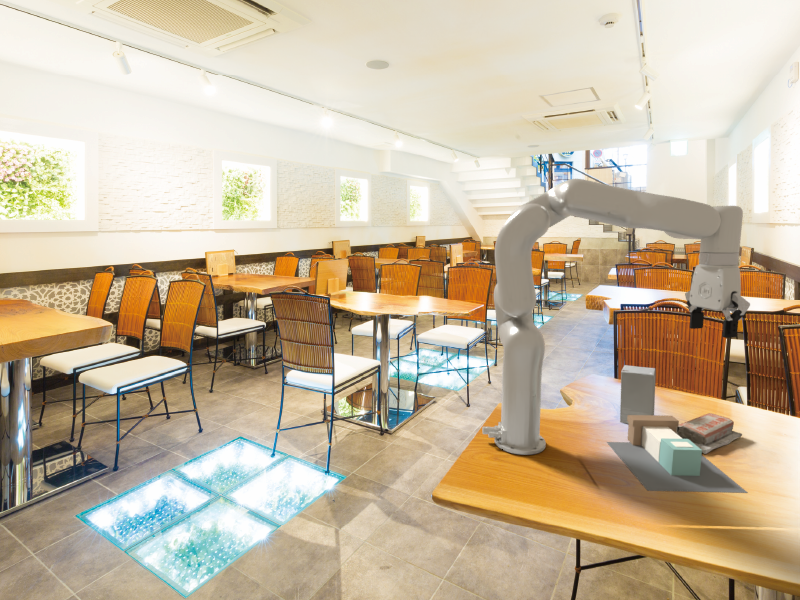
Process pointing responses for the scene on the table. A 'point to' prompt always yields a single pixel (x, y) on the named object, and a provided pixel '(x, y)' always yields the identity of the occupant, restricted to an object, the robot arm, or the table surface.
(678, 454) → the teal cube
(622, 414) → the skincare box
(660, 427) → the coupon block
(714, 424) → the packaged product
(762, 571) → the table surface
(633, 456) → the mat
